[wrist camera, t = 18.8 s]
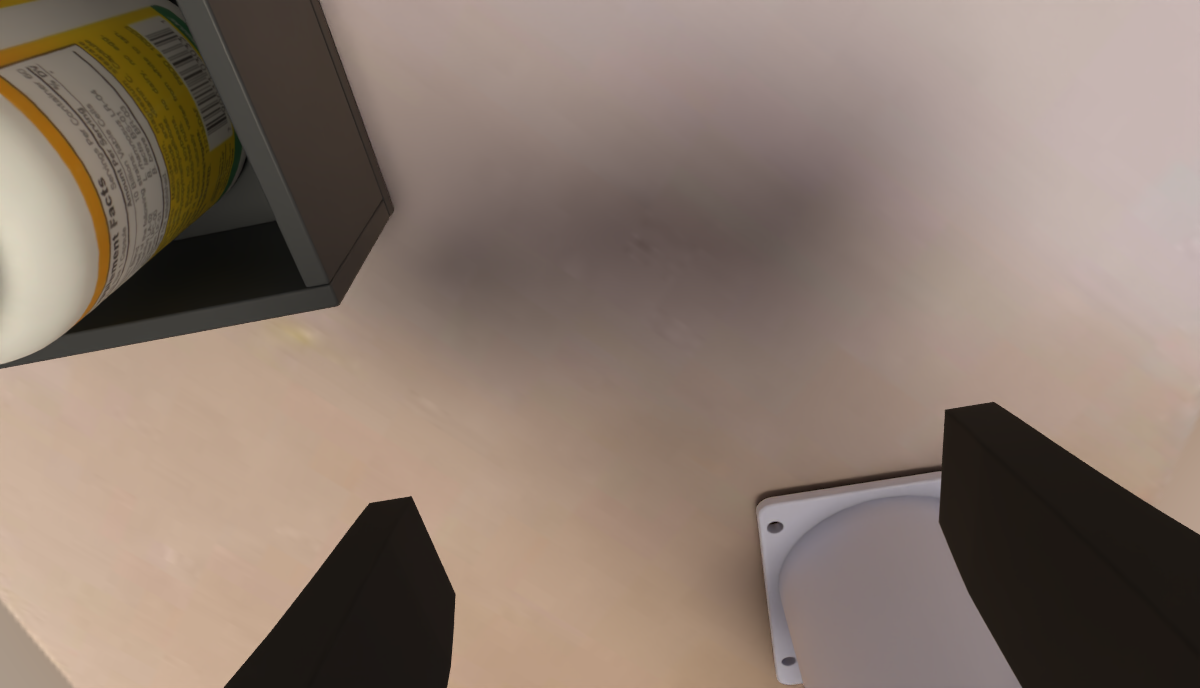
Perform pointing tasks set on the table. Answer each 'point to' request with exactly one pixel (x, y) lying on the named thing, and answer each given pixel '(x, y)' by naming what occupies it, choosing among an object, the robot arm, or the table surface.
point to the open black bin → (258, 189)
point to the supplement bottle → (98, 154)
